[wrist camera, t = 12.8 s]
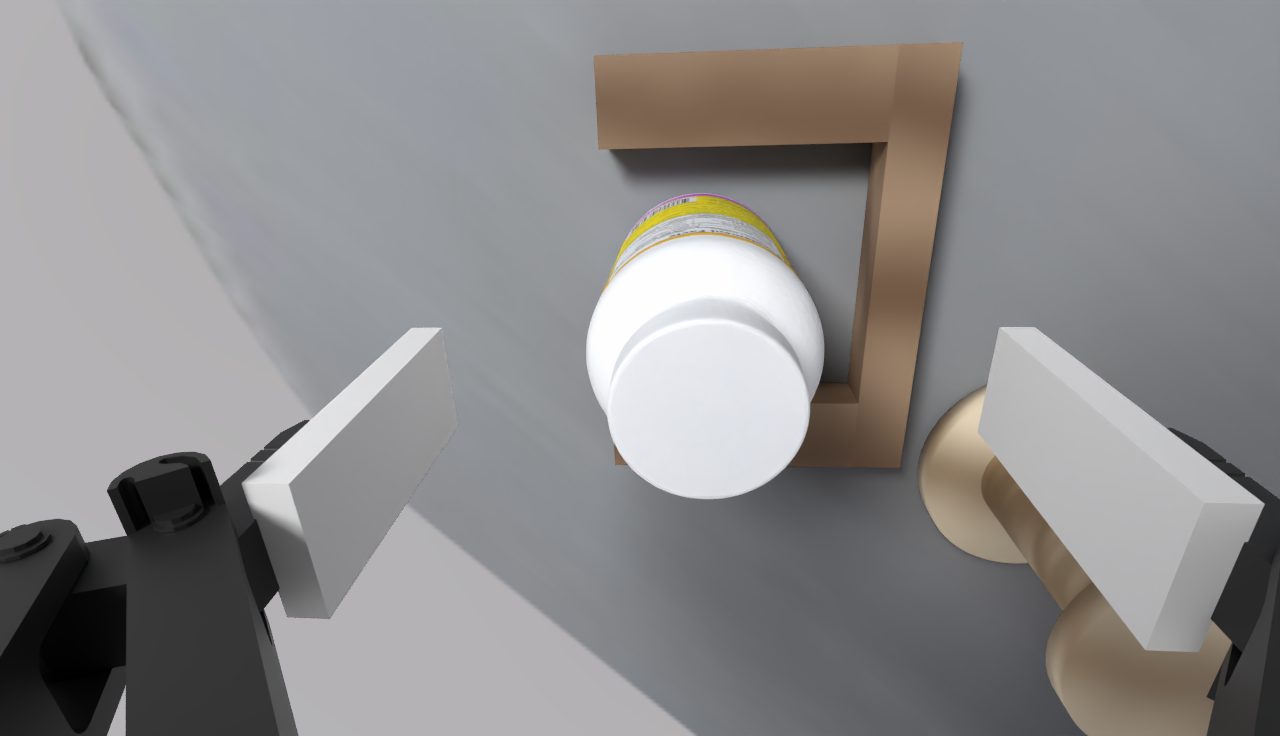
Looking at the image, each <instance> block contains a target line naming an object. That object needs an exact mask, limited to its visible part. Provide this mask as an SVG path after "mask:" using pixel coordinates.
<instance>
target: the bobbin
mask: <svg viewBox="0 0 1280 736" xmlns="http://www.w3.org/2000/svg"><path fill="white" fill-rule="evenodd" d="M986 388H987V385H985V386H983V387H981V388H979V389H977V390H976V391H974V392H972V393H970V394H969V395H967V396H966V397H964V398H963V399H961V400H960V401H959V402H957V403H956V404H955V405H954V406H953V407H951V408H950V409H949V410H948V411H947V412H946V413H945V414H944V415H943V416H942V417H941V418H940V420H939V421H938V422H937V424H936V425H935V426H934V428H933V429H932V430H931V432H930V434H929V436H928V437H927V439H926V441H925V443H924V446H923V448H922V451H921V454H920V458H919V462H918V472H917V478H918V487H919V491H920V495H921V498H922V500H923V502H924V505H925V507H926V508H927V510H928V512H929V514H930V516H931V517H932V519H933V521H934V523H935V524H936V526H937V527H938V529H939V530H940V531H941V533H942V534H943V535H944V536H945V537H946V538H947V539H948V540H949V541H951V542H952V543H953V544H954V545H955V546H957V547H959V548H960V549H962V550H964V551H965V552H967V553H970V554H972V555H974V556H976V557H980V558H983V559H986V560H990V561H996V562H1002V563H1029V565H1030V566H1031V567H1032V569H1033V570H1034V572H1035V573H1036V574H1037V576H1038V577H1039V579H1040V580H1041V581H1042V583H1043V584H1044V586H1045V587H1046V589H1047V590H1048V591H1049V593H1050V594H1051V596H1052V597H1053V598H1054V600H1055V601H1056V603H1057V604H1058V605H1059V607H1060V608H1061V610H1062V611H1063V612H1062V613H1061V614H1060V616H1059V617H1058V619H1057V621H1056V623H1055V625H1054V626H1053V628H1052V631H1051V633H1050V636H1049V639H1048V643H1047V648H1046V669H1047V674H1048V677H1049V680H1050V682H1051V685H1052V687H1053V688H1054V690H1055V692H1056V693H1057V695H1058V696H1059V698H1060V700H1061V701H1062V703H1063V705H1064V706H1065V708H1066V710H1067V711H1068V713H1069V715H1070V716H1071V718H1072V719H1073V721H1074V722H1075V724H1076V725H1077V726H1078V727H1079V728H1080V729H1081V730H1082V731H1083V732H1084V733H1085V734H1086V735H1088V736H1206V735H1207V731H1208V726H1209V722H1210V718H1211V713H1212V709H1213V704H1214V701H1213V700H1211V699H1209V698H1207V697H1206V696H1207V694H1208V692H1209V690H1210V688H1211V686H1212V684H1213V682H1214V679H1215V677H1216V675H1217V673H1218V671H1219V669H1220V667H1221V665H1222V662H1223V660H1224V658H1225V656H1226V654H1227V652H1228V650H1229V648H1230V645H1231V643H1232V641H1231V640H1230V639H1229V638H1228V637H1227V636H1226V635H1225V634H1224V633H1223V632H1222V631H1221V629H1220V628H1219V627H1218V626H1217V625H1216V624H1215V623H1214V622H1213V621H1212V623H1211V626H1210V628H1209V630H1208V632H1207V635H1206V637H1205V639H1204V641H1203V644H1202V646H1201V648H1200V650H1199V652H1178V651H1152V650H1145V649H1144V648H1143V646H1142V645H1141V644H1140V643H1139V641H1138V640H1137V639H1136V637H1135V636H1134V635H1133V634H1132V632H1131V631H1130V630H1129V628H1128V627H1127V626H1126V624H1125V623H1124V622H1123V621H1122V619H1121V618H1120V617H1119V615H1118V614H1117V613H1116V611H1115V610H1114V609H1113V608H1112V606H1111V605H1110V604H1109V602H1108V601H1107V600H1106V598H1105V597H1104V596H1103V595H1102V593H1101V592H1100V591H1099V589H1098V588H1097V587H1096V585H1095V584H1094V583H1093V582H1092V580H1091V579H1090V578H1089V576H1088V575H1087V574H1086V572H1085V571H1084V570H1083V569H1082V567H1081V566H1080V565H1079V563H1078V562H1077V561H1076V559H1075V558H1074V557H1073V556H1072V554H1071V553H1070V552H1069V550H1068V549H1067V548H1066V546H1065V545H1064V544H1063V543H1062V541H1061V540H1060V539H1059V537H1058V536H1057V535H1056V534H1055V532H1054V531H1053V530H1052V528H1051V527H1050V526H1049V524H1048V523H1047V522H1046V521H1045V519H1044V518H1043V517H1042V515H1041V514H1040V513H1039V511H1038V510H1037V509H1036V508H1035V506H1034V505H1033V504H1032V502H1031V501H1030V500H1029V498H1028V497H1027V496H1026V495H1025V493H1024V492H1023V491H1022V489H1021V488H1020V487H1019V485H1018V484H1017V483H1016V482H1015V480H1014V479H1013V478H1012V476H1011V475H1010V474H1009V472H1008V471H1007V470H1006V469H1005V467H1004V466H1003V465H1002V463H1001V462H1000V461H999V459H998V458H997V457H996V456H995V454H994V453H993V452H992V450H991V449H990V448H989V446H988V445H987V444H986V443H985V441H984V440H983V439H982V437H981V436H980V435H979V434H978V432H977V431H978V426H979V421H980V417H981V412H982V407H983V403H984V398H985V393H986Z"/></svg>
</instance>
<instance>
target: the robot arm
mask: <svg viewBox="0 0 1280 736" xmlns="http://www.w3.org/2000/svg"><path fill="white" fill-rule="evenodd" d="M457 427H458V420H457V414H456V409H455V403H454V397H453V391H452V385H451V379H450V373H449V367H448V361H447V355H446V350H445V344H444V338H443V332H442V328H411V329H410V330H409V331H408V332H407V333H406V334H404V335H403V336H402V337H401V338H400V339H399V340H398V341H397V342H396V343H395V344H394V345H392V346H391V347H390V348H389V349H388V350H387V351H386V352H385V353H384V354H383V355H381V356H380V357H379V358H378V359H377V360H376V361H375V362H374V363H373V364H372V365H371V366H369V367H368V368H367V369H366V370H365V371H364V372H363V373H362V374H361V375H360V376H358V377H357V378H356V379H355V380H354V381H353V382H352V383H351V384H350V385H349V386H347V387H346V388H345V389H344V390H343V391H342V392H341V393H340V394H339V395H338V396H337V397H335V398H334V399H333V400H332V401H331V402H330V403H329V404H328V405H327V406H326V407H324V408H323V409H322V410H321V411H320V412H319V413H318V414H317V415H316V416H315V417H314V418H312V419H311V420H304V421H302V422H300V423H298V424H296V425H295V426H293V427H291V428H289V429H287V430H285V431H283V432H281V433H280V434H279V435H278V436H276V437H275V438H274V439H273V440H272V441H271V442H270V443H268V444H267V445H266V446H265V447H264V450H260V452H258V453H257V454H256V455H255V456H254V457H252V458H251V462H247V463H246V464H244V465H243V466H242V467H241V468H240V469H239V470H238V471H237V472H236V473H234V474H233V475H232V476H231V477H230V478H229V479H227V480H226V481H225V482H224V483H223V484H222V485H221V486H219V483H218V480H217V477H216V475H215V472H214V469H213V466H212V463H211V461H210V459H209V458H208V457H207V456H206V455H205V454H201V453H197V452H180V453H173V454H169V455H164V456H159V457H156V458H153V459H151V460H148V461H145V462H142V463H140V464H138V465H136V466H134V467H132V468H130V469H128V470H126V471H125V472H123V473H121V475H119V476H118V477H117V478H115V479H114V480H113V481H112V482H111V484H110V485H109V487H108V489H107V492H108V494H109V496H110V498H111V501H112V503H113V505H114V508H115V510H116V512H117V514H118V516H119V519H120V521H121V523H122V525H123V528H124V530H125V532H126V534H127V536H123V537H118V538H111V539H105V540H100V541H94V542H88V543H85V542H84V540H83V538H82V536H81V534H80V532H79V530H78V528H77V526H76V525H75V524H74V523H73V522H72V521H70V520H62V519H53V520H45V521H39V522H35V523H31V524H28V525H20V526H17V527H15V528H12V529H11V531H8V530H7V531H5V532H3V533H1V534H0V736H107V733H108V731H109V728H110V725H111V723H112V720H113V717H114V715H115V712H116V709H117V707H118V704H119V701H120V699H121V696H122V693H123V691H124V688H125V685H126V736H298V733H297V729H296V725H295V721H294V717H293V713H292V709H291V706H290V702H289V698H288V694H287V691H286V687H285V683H284V679H283V675H282V671H281V667H280V663H279V659H278V656H277V652H276V648H275V644H274V640H273V636H272V633H271V629H270V625H269V622H268V619H267V616H266V613H265V611H264V608H265V607H266V605H267V604H268V603H269V601H270V600H271V599H272V598H273V596H274V595H275V594H276V593H277V591H278V592H279V595H280V597H281V600H282V603H283V606H284V609H285V612H286V615H287V617H295V618H321V619H330V618H331V616H332V615H333V613H334V612H335V610H336V609H337V607H338V606H339V604H340V603H341V601H342V600H343V598H344V597H345V595H346V594H347V592H348V591H349V589H350V588H351V586H352V585H353V583H354V581H355V580H356V579H357V577H358V576H359V574H360V573H361V571H362V570H363V568H364V567H365V565H366V564H367V562H368V561H369V559H370V558H371V556H372V555H373V553H374V552H375V550H376V549H377V547H378V546H379V544H380V543H381V541H382V540H383V538H384V537H385V535H386V534H387V532H388V531H389V529H390V528H391V526H392V525H393V523H394V522H395V520H396V519H397V517H398V516H399V514H400V513H401V511H402V510H403V508H404V507H405V505H406V504H407V502H408V501H409V499H410V498H411V496H412V495H413V493H414V492H415V490H416V489H417V487H418V486H419V484H420V483H421V481H422V480H423V478H424V477H425V475H426V474H427V472H428V471H429V469H430V468H431V466H432V465H433V463H434V462H435V460H436V459H437V457H438V456H439V454H440V453H441V451H442V450H443V448H444V447H445V445H446V444H447V442H448V441H449V439H450V438H451V436H452V435H453V433H454V432H455V430H456V429H457ZM977 432H978V434H979V435H980V436H981V437H982V439H983V440H984V441H985V443H986V444H987V445H988V446H989V448H990V449H991V450H992V452H993V453H994V454H995V456H996V457H997V458H998V459H999V461H1000V462H1001V463H1002V465H1003V466H1004V467H1005V469H1006V470H1007V471H1008V472H1009V474H1010V475H1011V476H1012V478H1013V479H1014V480H1015V482H1016V483H1017V484H1018V485H1019V487H1020V488H1021V489H1022V491H1023V492H1024V493H1025V495H1026V496H1027V497H1028V498H1029V500H1030V501H1031V502H1032V504H1033V505H1034V506H1035V508H1036V509H1037V510H1038V511H1039V513H1040V514H1041V515H1042V517H1043V518H1044V519H1045V521H1046V522H1047V523H1048V524H1049V526H1050V527H1051V528H1052V530H1053V531H1054V532H1055V534H1056V535H1057V536H1058V537H1059V539H1060V540H1061V541H1062V543H1063V544H1064V545H1065V546H1066V548H1067V549H1068V550H1069V552H1070V553H1071V554H1072V556H1073V557H1074V558H1075V559H1076V561H1077V562H1078V563H1079V565H1080V566H1081V567H1082V569H1083V570H1084V571H1085V572H1086V574H1087V575H1088V576H1089V578H1090V579H1091V580H1092V582H1093V583H1094V584H1095V585H1096V587H1097V588H1098V589H1099V591H1100V592H1101V593H1102V595H1103V596H1104V597H1105V598H1106V600H1107V601H1108V602H1109V604H1110V605H1111V606H1112V608H1113V609H1114V610H1115V611H1116V613H1117V614H1118V615H1119V617H1120V618H1121V619H1122V621H1123V622H1124V623H1125V624H1126V626H1127V627H1128V628H1129V630H1130V631H1131V632H1132V634H1133V635H1134V636H1135V637H1136V639H1137V640H1138V641H1139V643H1140V644H1141V645H1142V646H1143V648H1144V649H1145V650H1152V651H1178V652H1199V650H1200V648H1201V646H1202V644H1203V641H1204V639H1205V637H1206V635H1207V632H1208V630H1209V628H1210V626H1211V623H1212V621H1213V622H1214V623H1215V624H1216V625H1217V626H1218V627H1219V628H1220V629H1221V631H1222V632H1223V633H1224V634H1225V635H1226V636H1227V637H1228V638H1229V639H1230V640H1231V641H1232V643H1231V645H1230V648H1229V650H1228V652H1227V654H1226V656H1225V658H1224V660H1223V662H1222V665H1221V667H1220V669H1219V671H1218V673H1217V675H1216V677H1215V679H1214V682H1213V684H1212V686H1211V688H1210V690H1209V692H1208V694H1207V696H1206V697H1207V698H1209V699H1211V700H1213V701H1214V704H1213V709H1212V713H1211V718H1210V722H1209V726H1208V731H1207V735H1206V736H1280V499H1278V498H1277V497H1276V496H1274V495H1273V494H1272V493H1270V492H1269V491H1268V490H1266V489H1265V488H1264V487H1262V486H1261V485H1259V484H1258V483H1257V482H1255V481H1254V480H1253V479H1251V478H1250V477H1245V473H1243V472H1242V471H1241V470H1239V469H1238V468H1237V467H1235V466H1234V465H1232V464H1231V463H1226V459H1224V458H1223V457H1222V456H1220V455H1219V454H1218V453H1216V452H1215V451H1214V450H1212V449H1211V448H1210V447H1208V446H1207V445H1205V444H1204V443H1203V442H1200V441H1198V440H1196V439H1194V438H1192V437H1190V436H1187V435H1185V434H1183V433H1181V432H1179V431H1177V430H1175V429H1172V428H1165V427H1164V426H1163V425H1161V424H1160V423H1159V422H1157V421H1156V420H1155V419H1154V418H1152V417H1151V416H1150V415H1148V414H1147V413H1146V412H1144V411H1143V410H1142V409H1141V408H1139V407H1138V406H1137V405H1135V404H1134V403H1133V402H1131V401H1130V400H1129V399H1127V398H1126V397H1125V396H1124V395H1122V394H1121V393H1120V392H1118V391H1117V390H1116V389H1114V388H1113V387H1112V386H1111V385H1109V384H1108V383H1107V382H1105V381H1104V380H1103V379H1101V378H1100V377H1099V376H1098V375H1096V374H1095V373H1094V372H1092V371H1091V370H1090V369H1088V368H1087V367H1086V366H1085V365H1083V364H1082V363H1081V362H1079V361H1078V360H1077V359H1075V358H1074V357H1073V356H1072V355H1070V354H1069V353H1068V352H1066V351H1065V350H1064V349H1062V348H1061V347H1060V346H1058V345H1057V344H1056V343H1055V342H1053V341H1052V340H1051V339H1049V338H1048V337H1047V336H1045V335H1044V334H1043V333H1042V332H1040V331H1039V330H1038V329H1036V328H1035V327H999V332H998V336H997V341H996V346H995V350H994V355H993V360H992V365H991V369H990V374H989V379H988V384H987V388H986V393H985V398H984V403H983V407H982V412H981V417H980V421H979V426H978V431H977Z"/></svg>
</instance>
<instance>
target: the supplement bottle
mask: <svg viewBox="0 0 1280 736" xmlns="http://www.w3.org/2000/svg"><path fill="white" fill-rule="evenodd" d="M586 359H587V368H588V373H589V378H590V382H591V385H592V388H593V390H594V393H595V395H596V398H597V400H598V402H599V404H600V405H601V407H602V409H603V410H604V412H605V414H606V415H607V416H608V424H609V429H610V433H611V436H612V439H613V441H614V443H615V445H616V447H617V449H618V451H619V453H620V454H621V456H622V457H623V459H624V460H625V462H626V463H627V464H628V465H629V466H630V467H631V468H632V470H633V471H635V472H636V473H637V474H638V475H639V476H641V477H642V478H643V479H644V480H646V481H647V482H649V483H651V484H652V485H654V486H656V487H657V488H659V489H662V490H664V491H666V492H669V493H672V494H675V495H678V496H683V497H688V498H695V499H721V498H728V497H733V496H737V495H740V494H744V493H747V492H749V491H752V490H754V489H756V488H758V487H760V486H762V485H764V484H765V483H767V482H769V481H770V480H771V479H773V478H774V477H775V476H777V475H778V474H779V473H780V472H781V471H783V469H784V468H785V467H786V466H787V465H788V464H789V463H790V462H791V461H792V459H793V458H794V456H795V455H796V454H797V452H798V450H799V449H800V447H801V445H802V443H803V441H804V438H805V435H806V432H807V428H808V424H809V417H810V403H811V401H812V399H813V397H814V395H815V392H816V390H817V387H818V384H819V381H820V378H821V374H822V370H823V363H824V336H823V329H822V325H821V321H820V318H819V315H818V312H817V309H816V306H815V304H814V302H813V300H812V298H811V297H810V295H809V293H808V291H807V289H806V288H805V286H804V284H803V283H802V281H801V280H800V278H799V276H798V275H797V273H796V272H795V270H794V268H793V267H792V265H791V263H790V261H789V260H788V258H787V256H786V255H785V253H784V251H783V250H782V248H781V246H780V245H779V243H778V241H777V240H776V238H775V236H774V235H773V233H772V232H771V231H770V229H769V228H768V226H767V225H766V224H765V222H764V221H763V220H762V219H761V218H760V217H759V216H758V215H757V214H756V213H755V212H753V211H752V210H751V209H749V208H748V207H747V206H745V205H743V204H742V203H740V202H738V201H736V200H733V199H731V198H728V197H725V196H721V195H716V194H709V193H692V194H686V195H681V196H677V197H674V198H671V199H669V200H667V201H664V202H662V203H660V204H659V205H657V206H655V207H654V208H652V209H651V210H649V211H648V212H647V213H646V214H645V215H644V216H642V217H641V219H640V220H639V221H638V222H637V223H636V224H635V225H634V227H633V228H632V229H631V231H630V232H629V234H628V235H627V237H626V239H625V241H624V243H623V245H622V248H621V250H620V252H619V255H618V257H617V259H616V262H615V264H614V267H613V269H612V271H611V274H610V276H609V279H608V281H607V283H606V285H605V288H604V290H603V292H602V294H601V297H600V299H599V301H598V304H597V306H596V308H595V311H594V313H593V316H592V319H591V323H590V326H589V330H588V336H587V345H586Z"/></svg>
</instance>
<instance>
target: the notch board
mask: <svg viewBox="0 0 1280 736" xmlns="http://www.w3.org/2000/svg"><path fill="white" fill-rule="evenodd" d="M962 47H963V42H954V43H927V44H900V45H872V46H845V47H818V48H791V49H764V50H737V51H709V52H682V53H655V54H628V55H601V56H594V69H595V88H596V107H597V126H598V145H599V149H638V148H677V147H716V146H754V145H793V144H832V143H871V142H873V145H872V154H871V164H870V173H869V183H868V192H867V202H866V211H865V221H864V230H863V240H862V249H861V259H860V268H859V278H858V288H857V297H856V307H855V316H854V326H853V335H852V345H851V354H850V364H849V373H848V383H819V384H818V387H817V390H816V392H815V395H814V397H813V399H812V401H811V403H810V417H809V424H808V428H807V432H806V435H805V438H804V441H803V443H802V445H801V447H800V449H799V450H798V452H797V454H796V455H795V456H794V458H793V459H792V461H791V462H790V463H789V464H788V465H787V466H786V467H852V468H900V464H901V457H902V451H903V444H904V437H905V431H906V424H907V417H908V410H909V404H910V397H911V390H912V383H913V377H914V370H915V363H916V356H917V350H918V343H919V336H920V330H921V323H922V316H923V309H924V303H925V296H926V289H927V282H928V276H929V269H930V262H931V255H932V249H933V242H934V235H935V229H936V222H937V215H938V208H939V202H940V195H941V188H942V181H943V175H944V168H945V161H946V155H947V148H948V141H949V134H950V128H951V121H952V114H953V107H954V101H955V94H956V87H957V80H958V74H959V67H960V60H961V54H962ZM614 450H615V465H628V464H627V463H626V462H625V460H624V459H623V457H622V456H621V454H620V453H619V451H618V449H617V447H616V445H615V443H614Z"/></svg>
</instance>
